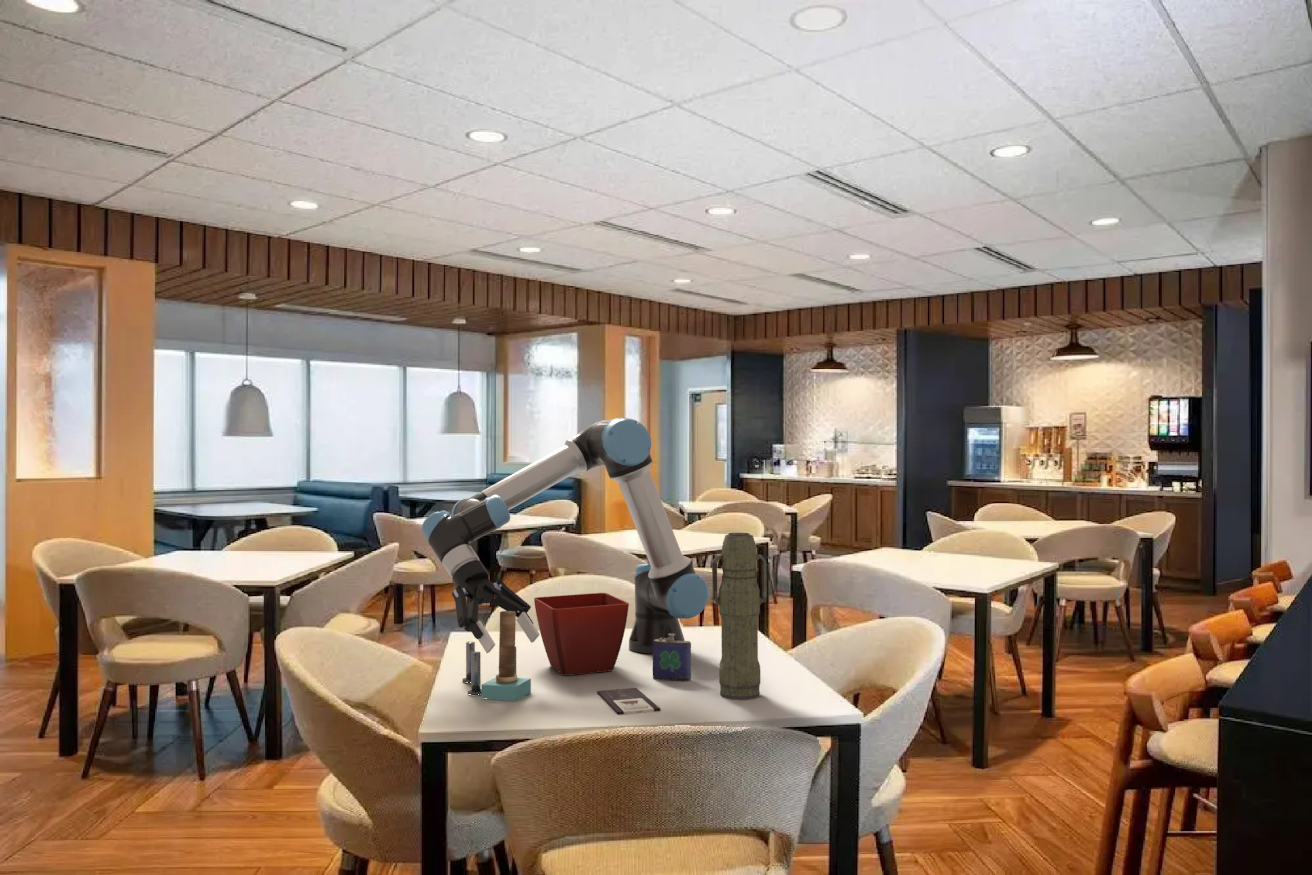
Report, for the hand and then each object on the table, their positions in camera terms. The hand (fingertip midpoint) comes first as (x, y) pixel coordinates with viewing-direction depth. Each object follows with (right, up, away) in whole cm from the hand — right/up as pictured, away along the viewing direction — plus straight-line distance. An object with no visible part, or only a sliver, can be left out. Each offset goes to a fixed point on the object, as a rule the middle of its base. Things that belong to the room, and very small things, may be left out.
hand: (514, 643), depth 206 cm
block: (-2, -12, +1) cm, 12 cm away
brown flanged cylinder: (-2, -8, +1) cm, 9 cm away
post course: (-8, -12, +8) cm, 16 cm away
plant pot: (+12, -12, +27) cm, 32 cm away
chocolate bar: (+25, -12, -5) cm, 28 cm away
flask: (+34, -12, +15) cm, 40 cm away
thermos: (+49, -11, +1) cm, 50 cm away
